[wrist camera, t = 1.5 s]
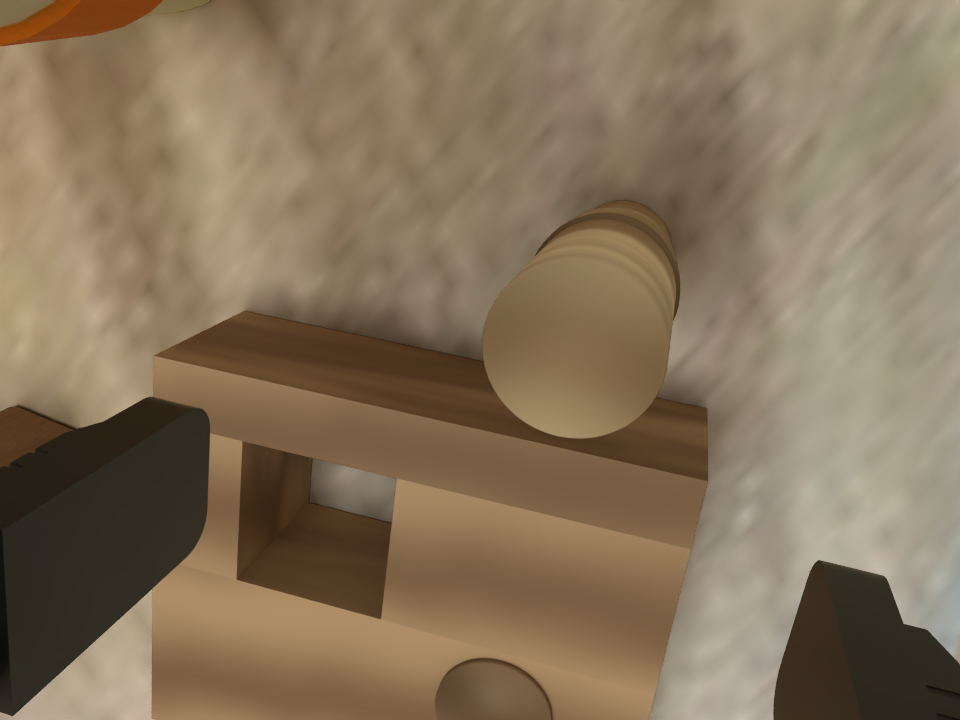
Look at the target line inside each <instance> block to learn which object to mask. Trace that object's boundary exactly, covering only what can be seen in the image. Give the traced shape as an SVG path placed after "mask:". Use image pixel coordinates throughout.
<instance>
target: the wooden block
mask: <svg viewBox="0 0 960 720" xmlns="http://www.w3.org/2000/svg"><path fill="white" fill-rule="evenodd" d="M72 430H73V429H70V428H68V427H65V426H63V425H60V424H58V423H56V422H53V421H51V420H48V419H46V418H44V417H41V416H39V415H36V414H34V413H32V412H29V411H27V410H24V409H22V408H20V407H9V408H7V409H5V410H3V411H1V412H0V468H1V467H3V466H6V467H9V465H10V462H12V461H14V460H16V459H17V458H19V457H21V456H23V455H25V454H27V453H28V452H31V453H34V452H35V449H36V448H38V447H39V446H41V445H43V444H45V443H47V442H49V441H50V440H52V439H54V438H56V437H58V436H60V435H61V434H63V433H65V432H68V431H72Z"/></svg>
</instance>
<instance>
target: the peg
mask: <svg viewBox="0 0 960 720" xmlns="http://www.w3.org/2000/svg"><path fill="white" fill-rule="evenodd" d="M679 298H680V276H679V271H678V264H677V259H676V255H675V252H674V250H673V247H672V241H671V237H670V233H669V231H668V229H667V227H666V225H665V223H664V222H663V221H662V219H661V218H660V217H659V216H658V215H657V214H656V213H655V212H654V211H652V210H651V209H650V208H648V207H646V206H644V205H642V204H639V203H636V202H631V201H614V202H609V203H606V204H603V205H601V206H599V207H597V208H596V209H594V210H592V211H589V212H586V213H584V214H581V215H579V216H578V217H576V218H574V219H573V220H571V221H569V222H567V223H566V224H564V225H562V226H561V227H559V228H558V229H557V230H556V231H555V232H553V233H552V234H551V235H550V236H549V237H548V238H547V240H546V241H545V242H544V243H543V244H542V246H541V247H540V248H539V250H538V251H537V253H536V255H535V257H534V258H533V259H532V260H531V261H530V262H529V263H528V264H527V265H526V267H525V268H524V269H523V270H522V271H521V272H520V273H519V274H518V275H517V276H516V277H515V278H514V279H513V280H512V281H511V282H510V283H509V284H508V285H507V286H506V287H505V288H504V289H503V291H502V292H501V293H500V294H499V296H498V297H497V299H496V300H495V301H494V303H493V305H492V307H491V309H490V311H489V313H488V316H487V319H486V322H485V326H484V331H483V340H482V351H483V360H484V365H485V369H486V372H487V375H488V378H489V380H490V382H491V384H492V387H493V389H494V390H495V392H496V393H497V395H498V397H499V398H500V399H501V401H502V402H503V403H504V404H505V405H506V407H507V408H508V409H509V410H510V411H511V412H513V413H514V414H515V415H516V416H517V417H518V418H520V419H521V420H522V421H524V422H525V423H527V424H529V425H530V426H532V427H534V428H536V429H538V430H541V431H543V432H545V433H548V434H552V435H555V436H560V437H566V438H593V437H598V436H603V435H606V434H609V433H612V432H615V431H617V430H619V429H621V428H623V427H625V426H627V425H628V424H630V423H631V422H633V421H634V420H636V419H637V418H638V417H639V416H640V415H641V414H642V413H643V412H644V411H645V410H646V409H647V408H648V407H649V406H650V404H651V403H652V402H653V400H654V399H655V397H656V396H657V394H658V392H659V390H660V388H661V386H662V383H663V381H664V377H665V374H666V370H667V363H668V356H669V348H670V340H671V332H672V324H673V320H674V318H675V316H676V312H677V309H678V305H679Z"/></svg>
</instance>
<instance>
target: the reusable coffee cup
mask: <svg viewBox="0 0 960 720" xmlns="http://www.w3.org/2000/svg"><path fill="white" fill-rule="evenodd" d="M209 1H211V0H0V46H7V45H15V44H23V43H31V42H39V41H47V40H55V39H63V38H71V37H79V36H87V35H94V34H98V33H102V32H106V31H110V30H114V29H117V28H121V27H124V26H126V25H128V24H130V23H131V22H133V21H135V20H137V19H139V18H140V17H142V16H144V15H148V14H158V13H168V12H178V11H183V10H187V9H191V8H195V7H199V6H202V5H204V4H206V3H208V2H209Z"/></svg>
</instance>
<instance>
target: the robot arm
mask: <svg viewBox="0 0 960 720" xmlns="http://www.w3.org/2000/svg"><path fill="white" fill-rule="evenodd" d="M209 453H210V421H209V417H208V415H207V413H206V412H205V411H204V410H203V409H201V408H197V407H193V406H189V405H184V404H180V403H176V402H172V401H168V400H164V399H160V398H156V397H148V398H145V399H143V400H141V401H139V402H138V403H136V404H134V405H132V406H131V407H129V408H127V409H125V410H123V411H122V412H120V413H118V414H116V415H115V416H113V417H111V418H109V419H107V420H106V421H104V422H101V423H97V424H94V425H90V426H87V427H83V428H79V429H76V430H72V431H68V432H65V433H63V434H61V435H60V436H58V437H56V438H54V439H52V440H50V441H49V442H47V443H45V444H43V445H41V446H39V447H38V448H36V449H35V452H34V453H31V452H28V453H27V454H25V455H23V456H21V457H19V458H17V459H16V460H14V461H12V462H10V465H9V467H6V466H3V467H1V468H0V712H2V713H5V714H8V715H11V716H14V715H15V714H16V713H17V712H18V711H19V710H20V709H21V708H22V707H23V706H24V705H26V704H27V703H28V702H29V701H30V700H31V699H32V698H33V697H34V696H35V695H37V694H38V693H39V692H40V691H41V690H42V689H43V688H44V687H45V686H46V685H47V684H49V683H50V682H51V681H52V680H53V679H54V678H55V677H56V676H57V675H58V674H60V673H61V672H62V671H63V670H64V669H65V668H66V667H67V666H68V665H69V664H70V663H72V662H73V661H74V660H75V659H76V658H77V657H78V656H79V655H80V654H81V653H83V652H84V651H85V650H86V649H87V648H88V647H89V646H90V645H91V644H92V643H93V642H95V641H96V640H97V639H98V638H99V637H100V636H101V635H102V634H103V633H104V632H105V631H107V630H108V629H109V628H110V627H111V626H112V625H113V624H114V623H115V622H116V621H118V620H119V619H120V618H121V617H122V616H123V615H124V614H125V613H126V612H127V611H128V610H130V609H131V608H132V607H133V606H134V605H135V604H136V603H137V602H138V601H139V600H141V599H142V598H143V597H144V596H145V595H146V594H147V593H148V592H149V591H150V590H151V589H153V588H154V587H155V586H156V585H157V584H158V583H159V582H160V581H161V580H162V579H164V578H165V577H166V576H167V575H168V574H169V573H170V572H171V571H172V570H173V569H174V568H176V567H177V566H178V565H179V564H180V563H181V562H182V561H183V560H184V559H185V558H187V557H188V555H189V554H190V553H191V552H192V551H193V549H194V548H195V546H196V545H197V543H198V541H199V539H200V537H201V534H202V532H203V529H204V526H205V522H206V517H207V509H208V481H209ZM774 720H960V664H959V663H958V662H957V661H956V660H955V659H954V658H953V657H952V655H951V654H950V653H949V652H948V651H947V650H946V649H945V648H944V647H943V646H942V645H941V644H940V643H939V642H938V641H937V640H936V639H935V638H934V637H933V636H932V635H931V633H930V632H929V631H928V630H925V629H921V628H917V627H914V626H910V625H906V624H903V621H902V619H901V616H900V613H899V610H898V608H897V605H896V602H895V600H894V597H893V594H892V591H891V589H890V586H889V583H888V581H887V579H886V578H885V577H884V576H882V575H878V574H874V573H870V572H866V571H862V570H858V569H854V568H850V567H845V566H841V565H837V564H833V563H829V562H825V561H821V560H818V561H817V562H816V563H815V564H814V565H813V567H812V569H811V571H810V574H809V576H808V579H807V582H806V586H805V589H804V592H803V595H802V598H801V601H800V605H799V608H798V611H797V614H796V617H795V621H794V624H793V627H792V630H791V633H790V637H789V640H788V643H787V646H786V649H785V652H784V656H783V659H782V662H781V665H780V669H779V673H778V678H777V683H776V689H775V697H774Z"/></svg>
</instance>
